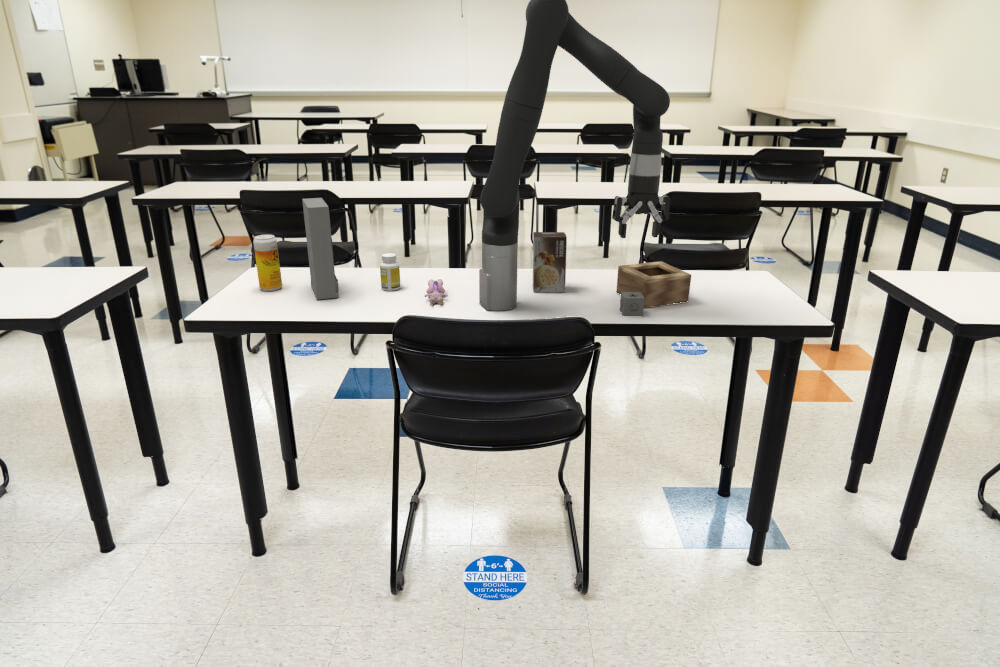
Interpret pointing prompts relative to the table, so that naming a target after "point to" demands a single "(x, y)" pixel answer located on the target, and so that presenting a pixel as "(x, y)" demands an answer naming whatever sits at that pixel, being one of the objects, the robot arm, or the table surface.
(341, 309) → the table surface
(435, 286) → the rabbit figure
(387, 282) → the supplement bottle
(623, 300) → the dice cube
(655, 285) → the open wooden box
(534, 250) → the coffee box
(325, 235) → the tall notched grey box
